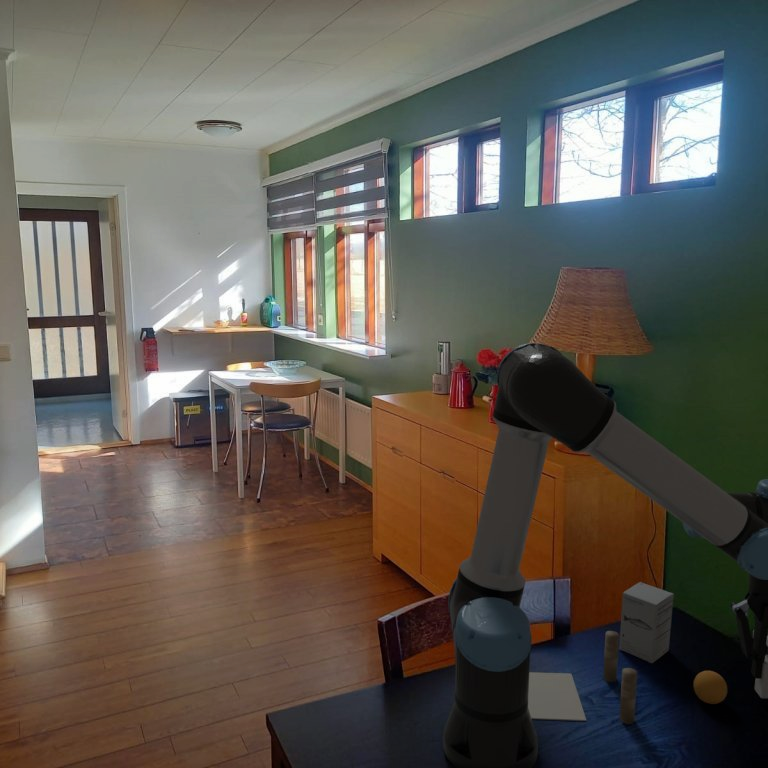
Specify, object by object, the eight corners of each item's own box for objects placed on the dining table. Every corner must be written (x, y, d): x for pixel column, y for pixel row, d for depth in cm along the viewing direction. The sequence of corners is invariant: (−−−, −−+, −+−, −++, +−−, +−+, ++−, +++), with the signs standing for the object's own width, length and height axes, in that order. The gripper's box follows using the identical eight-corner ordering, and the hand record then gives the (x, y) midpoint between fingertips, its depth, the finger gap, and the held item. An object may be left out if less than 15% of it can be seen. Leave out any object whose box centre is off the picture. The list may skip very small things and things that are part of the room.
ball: (698, 710, 130) (701, 681, 129) (688, 691, 135) (690, 664, 134) (731, 711, 129) (733, 682, 128) (719, 692, 135) (721, 664, 134)
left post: (604, 681, 138) (607, 637, 137) (601, 674, 141) (604, 630, 139) (617, 682, 138) (620, 637, 136) (614, 674, 140) (617, 631, 139)
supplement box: (617, 650, 149) (621, 591, 147) (636, 637, 154) (640, 580, 152) (652, 665, 144) (656, 604, 141) (670, 651, 149) (674, 592, 146)
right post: (621, 723, 126) (624, 675, 124) (617, 715, 128) (620, 667, 127) (635, 724, 126) (638, 676, 124) (632, 715, 128) (635, 668, 127)
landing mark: (503, 718, 128) (503, 717, 128) (496, 672, 141) (496, 671, 141) (586, 721, 127) (586, 719, 127) (571, 674, 141) (571, 673, 140)
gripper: (803, 560, 130) (789, 682, 135) (726, 559, 131) (716, 680, 135) (825, 579, 123) (810, 708, 127) (744, 577, 124) (732, 705, 128)
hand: (762, 693), depth 131 cm, fingers closed
